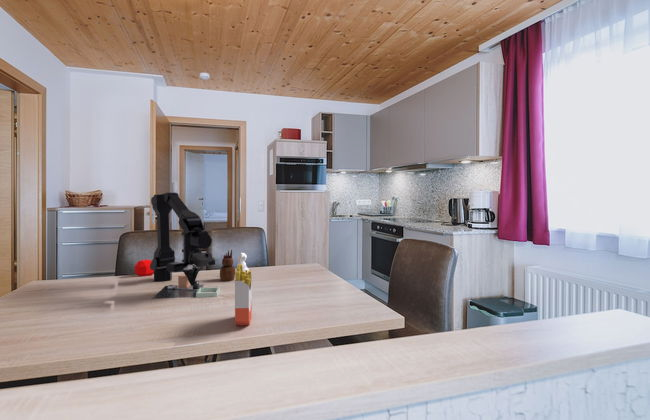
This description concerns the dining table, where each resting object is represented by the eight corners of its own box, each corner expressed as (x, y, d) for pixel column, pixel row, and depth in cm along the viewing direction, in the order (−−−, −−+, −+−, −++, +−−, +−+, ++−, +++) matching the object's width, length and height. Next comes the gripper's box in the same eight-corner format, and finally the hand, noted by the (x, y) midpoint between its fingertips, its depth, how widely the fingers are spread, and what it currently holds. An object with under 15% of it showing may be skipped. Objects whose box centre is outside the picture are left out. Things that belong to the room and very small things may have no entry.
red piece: (158, 275, 167) (157, 260, 166) (142, 279, 160) (141, 263, 159) (148, 273, 171) (148, 258, 170) (132, 276, 164) (132, 260, 164)
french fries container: (253, 315, 115) (252, 262, 114) (250, 328, 105) (249, 270, 104) (239, 315, 115) (238, 262, 114) (234, 329, 104) (234, 270, 103)
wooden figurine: (237, 280, 159) (237, 248, 158) (232, 284, 153) (232, 250, 152) (223, 280, 160) (222, 248, 159) (218, 283, 154) (217, 250, 153)
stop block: (178, 287, 143) (178, 276, 143) (182, 285, 146) (182, 274, 146) (186, 288, 143) (186, 276, 142) (190, 285, 146) (190, 274, 146)
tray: (196, 299, 131) (196, 293, 131) (200, 293, 138) (200, 287, 138) (217, 298, 132) (216, 292, 132) (219, 293, 140) (219, 287, 140)
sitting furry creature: (231, 275, 169) (231, 251, 168) (248, 273, 172) (248, 250, 171) (231, 279, 160) (231, 254, 159) (250, 278, 163) (250, 253, 162)
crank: (165, 289, 141) (165, 280, 141) (171, 286, 144) (171, 278, 144) (195, 291, 138) (195, 282, 137) (201, 289, 141) (201, 280, 141)
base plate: (151, 301, 129) (151, 298, 129) (165, 288, 146) (165, 285, 146) (195, 299, 131) (195, 296, 131) (204, 286, 148) (204, 284, 148)
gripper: (182, 251, 125) (182, 293, 125) (223, 245, 140) (224, 283, 141) (165, 249, 131) (165, 289, 132) (206, 243, 147) (207, 280, 147)
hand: (192, 285), depth 138 cm, fingers closed
